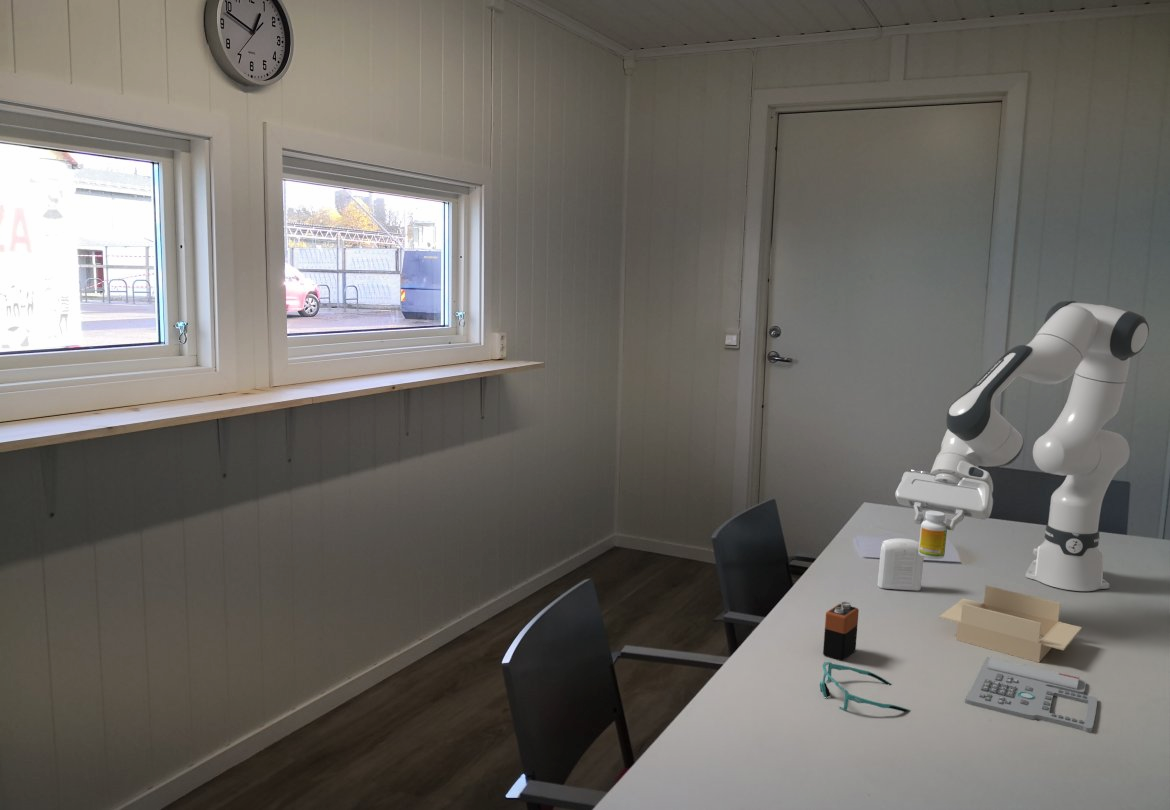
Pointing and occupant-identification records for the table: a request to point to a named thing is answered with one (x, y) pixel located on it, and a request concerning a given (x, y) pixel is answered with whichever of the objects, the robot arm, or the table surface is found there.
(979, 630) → the carton
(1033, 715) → the office telephone
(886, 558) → the photo printer
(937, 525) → the supplement bottle
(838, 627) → the battery
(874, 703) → the sunglasses
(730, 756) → the table surface
